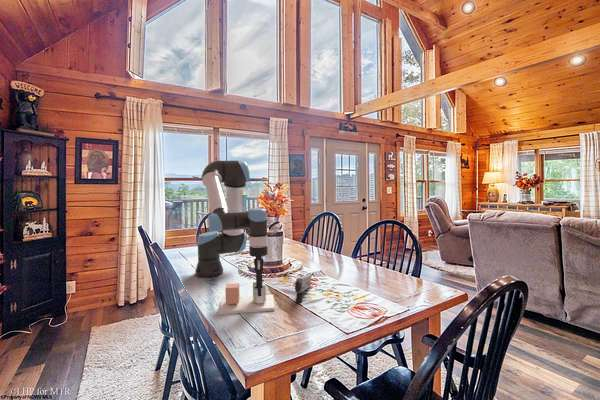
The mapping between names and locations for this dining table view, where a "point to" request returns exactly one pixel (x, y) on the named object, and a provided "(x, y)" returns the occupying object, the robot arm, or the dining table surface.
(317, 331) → the dining table surface
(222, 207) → the robot arm
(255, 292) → the pale green block
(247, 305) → the stand
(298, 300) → the grey curved bar
